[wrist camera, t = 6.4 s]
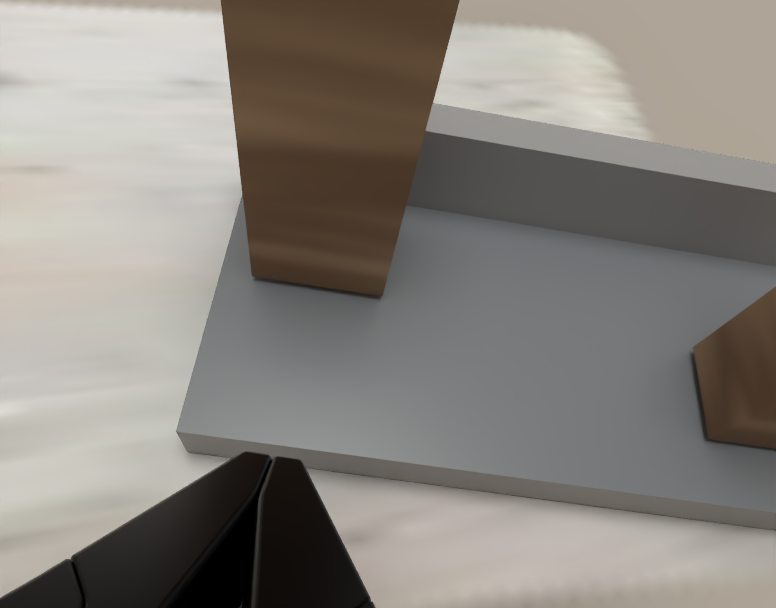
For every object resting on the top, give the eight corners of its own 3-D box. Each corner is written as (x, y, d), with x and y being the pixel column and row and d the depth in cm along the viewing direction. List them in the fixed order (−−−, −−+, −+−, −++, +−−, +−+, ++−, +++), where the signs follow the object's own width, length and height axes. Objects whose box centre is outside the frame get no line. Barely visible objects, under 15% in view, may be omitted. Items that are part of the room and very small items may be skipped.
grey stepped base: (824, 537, 19) (999, 502, 14) (187, 451, 18) (148, 382, 13) (759, 272, 24) (874, 181, 19) (257, 189, 23) (247, 70, 18)
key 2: (382, 296, 19) (495, -141, 8) (251, 276, 18) (198, -203, 8) (391, 218, 20) (497, -235, 10) (270, 198, 20) (246, -290, 9)
